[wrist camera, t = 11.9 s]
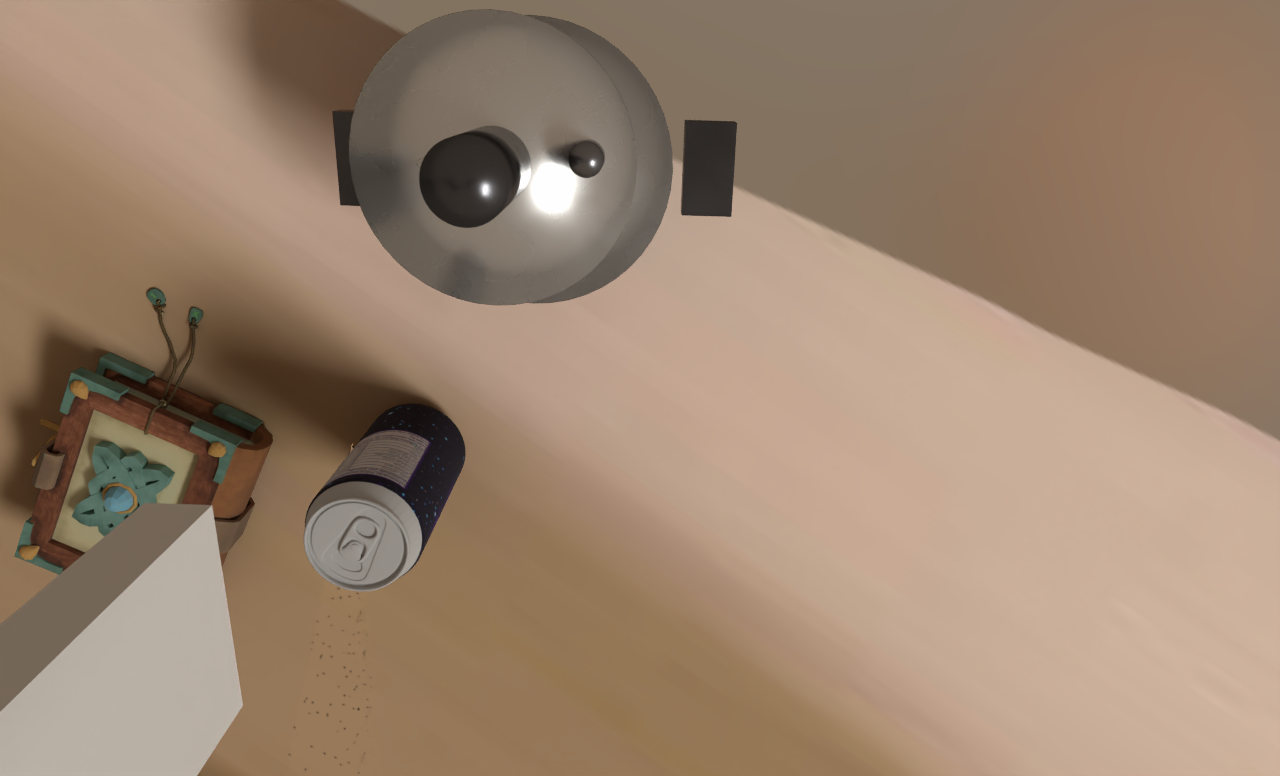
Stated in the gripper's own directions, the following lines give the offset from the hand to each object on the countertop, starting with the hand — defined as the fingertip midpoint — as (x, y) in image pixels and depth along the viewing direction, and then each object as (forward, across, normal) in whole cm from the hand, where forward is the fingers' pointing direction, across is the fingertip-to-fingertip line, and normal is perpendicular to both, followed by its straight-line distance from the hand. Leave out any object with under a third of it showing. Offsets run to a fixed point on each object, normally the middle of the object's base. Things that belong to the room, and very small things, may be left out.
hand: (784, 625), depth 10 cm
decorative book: (+40, -30, -15) cm, 52 cm away
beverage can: (+39, -15, -15) cm, 45 cm away
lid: (+30, -8, +2) cm, 31 cm away
